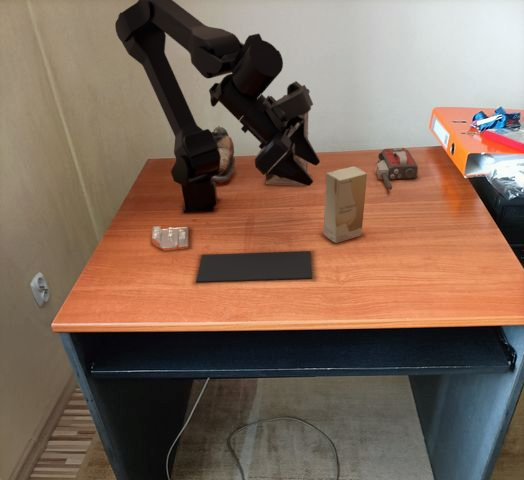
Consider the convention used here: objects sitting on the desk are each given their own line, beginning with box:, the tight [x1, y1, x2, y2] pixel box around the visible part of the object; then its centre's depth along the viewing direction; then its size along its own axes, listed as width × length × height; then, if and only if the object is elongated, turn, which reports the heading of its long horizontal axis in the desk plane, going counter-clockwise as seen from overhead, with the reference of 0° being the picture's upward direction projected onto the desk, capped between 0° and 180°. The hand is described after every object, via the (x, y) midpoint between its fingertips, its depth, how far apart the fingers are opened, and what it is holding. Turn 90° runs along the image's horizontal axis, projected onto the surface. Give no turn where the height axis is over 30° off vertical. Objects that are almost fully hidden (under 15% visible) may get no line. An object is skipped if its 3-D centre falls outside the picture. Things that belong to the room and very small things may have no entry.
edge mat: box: [195, 250, 313, 284], centre depth 92 cm, size 20×9×1 cm, turn 88°
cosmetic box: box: [323, 165, 368, 244], centre depth 95 cm, size 6×4×12 cm
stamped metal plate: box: [151, 225, 190, 252], centre depth 101 cm, size 8×7×2 cm
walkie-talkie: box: [376, 147, 419, 191], centre depth 117 cm, size 9×4×20 cm
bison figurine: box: [211, 125, 236, 183], centre depth 121 cm, size 12×7×10 cm, turn 176°
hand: (314, 173), depth 92 cm, fingers open, 9 cm apart
